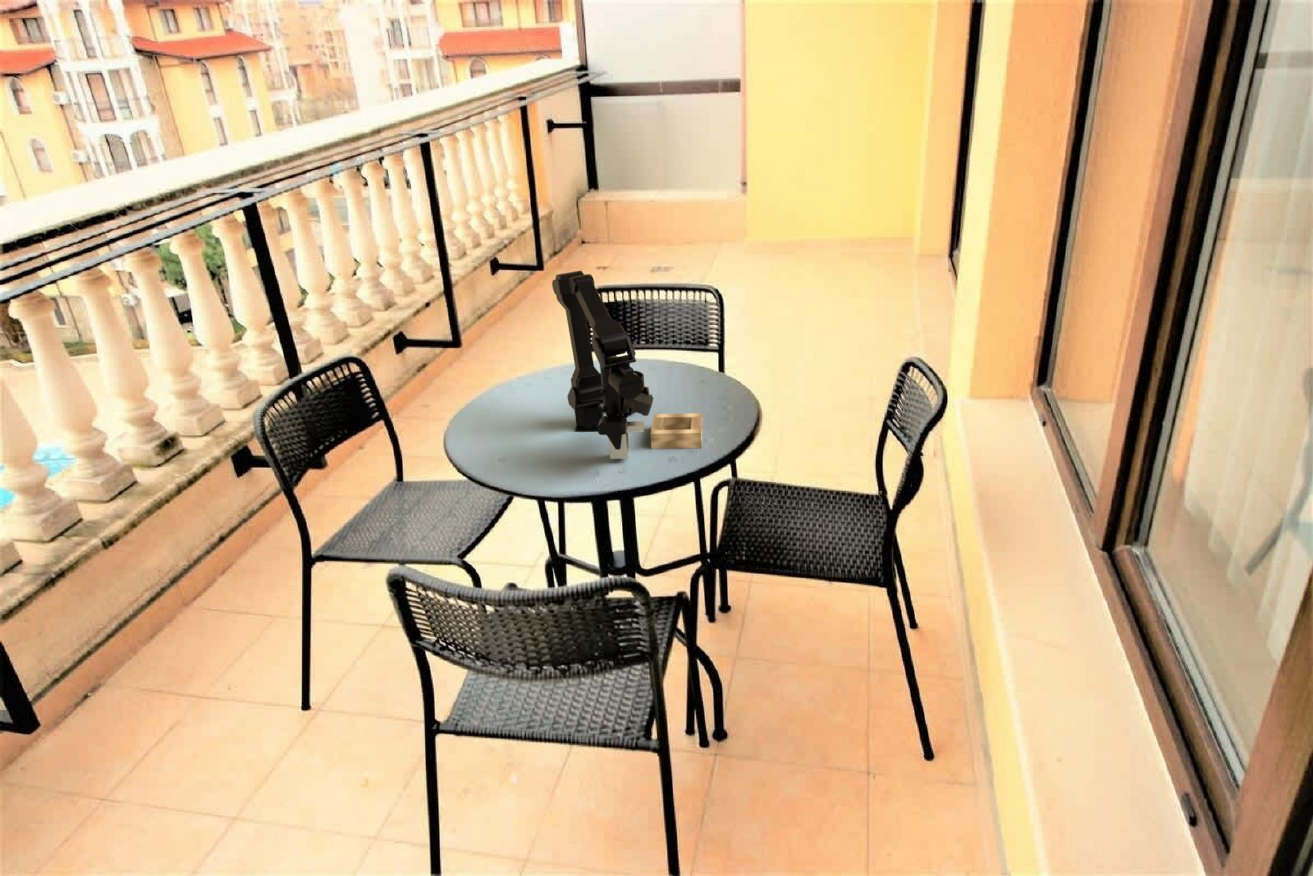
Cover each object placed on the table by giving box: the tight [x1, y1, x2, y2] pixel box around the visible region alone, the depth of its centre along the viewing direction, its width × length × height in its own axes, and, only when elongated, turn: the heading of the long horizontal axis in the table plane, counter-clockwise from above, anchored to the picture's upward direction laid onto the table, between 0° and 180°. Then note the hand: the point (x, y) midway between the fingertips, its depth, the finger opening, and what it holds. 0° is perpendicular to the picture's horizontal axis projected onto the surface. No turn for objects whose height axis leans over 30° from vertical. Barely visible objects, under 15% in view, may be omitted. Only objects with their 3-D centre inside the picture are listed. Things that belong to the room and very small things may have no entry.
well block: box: [650, 412, 704, 450], centre depth 205 cm, size 12×11×4 cm
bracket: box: [608, 420, 645, 460], centre depth 196 cm, size 8×4×8 cm, turn 86°
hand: (619, 444), depth 196 cm, fingers closed on bracket, 4 cm apart
